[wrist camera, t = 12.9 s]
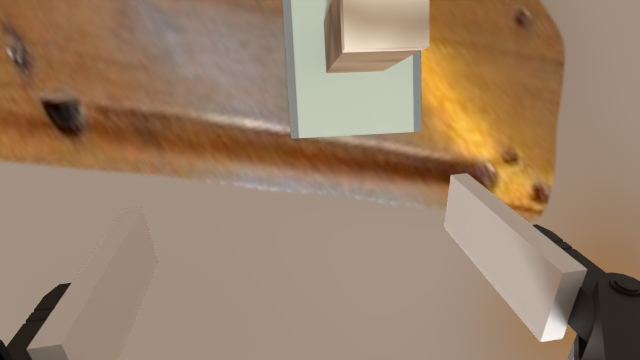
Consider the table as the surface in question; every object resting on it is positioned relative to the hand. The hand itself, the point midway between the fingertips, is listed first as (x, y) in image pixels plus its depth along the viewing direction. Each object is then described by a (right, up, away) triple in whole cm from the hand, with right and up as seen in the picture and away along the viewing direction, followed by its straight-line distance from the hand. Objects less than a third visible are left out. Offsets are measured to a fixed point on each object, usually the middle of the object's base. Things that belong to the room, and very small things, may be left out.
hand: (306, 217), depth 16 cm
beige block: (+4, +15, +21) cm, 26 cm away
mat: (+4, +15, +22) cm, 27 cm away
